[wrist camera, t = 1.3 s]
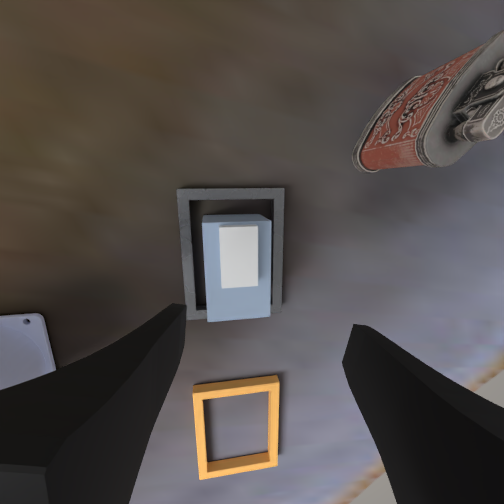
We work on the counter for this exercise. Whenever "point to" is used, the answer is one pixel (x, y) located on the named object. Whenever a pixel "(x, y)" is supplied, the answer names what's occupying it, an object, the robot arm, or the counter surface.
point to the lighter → (438, 113)
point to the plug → (237, 266)
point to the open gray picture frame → (187, 245)
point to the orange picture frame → (232, 389)
